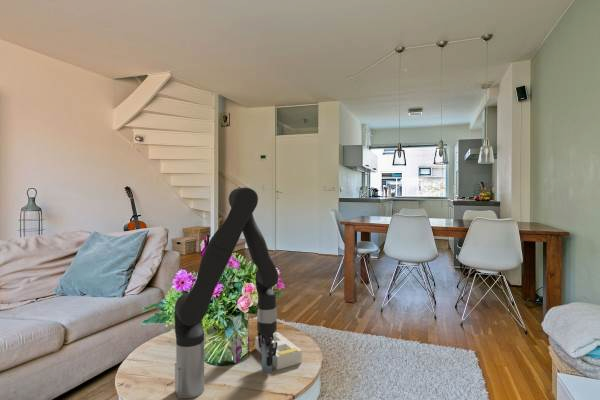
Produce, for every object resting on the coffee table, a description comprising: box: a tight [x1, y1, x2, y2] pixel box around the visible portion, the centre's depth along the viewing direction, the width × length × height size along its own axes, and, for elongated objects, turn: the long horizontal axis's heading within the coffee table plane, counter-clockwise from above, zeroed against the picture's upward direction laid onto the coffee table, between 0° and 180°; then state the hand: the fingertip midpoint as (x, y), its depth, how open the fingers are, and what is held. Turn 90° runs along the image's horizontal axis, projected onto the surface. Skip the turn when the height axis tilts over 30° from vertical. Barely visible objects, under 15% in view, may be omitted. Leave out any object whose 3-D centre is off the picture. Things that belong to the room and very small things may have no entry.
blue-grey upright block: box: [261, 344, 273, 373], centre depth 131 cm, size 4×4×10 cm
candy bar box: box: [232, 314, 250, 364], centre depth 142 cm, size 11×5×16 cm, turn 161°
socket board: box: [254, 331, 303, 371], centre depth 143 cm, size 11×22×5 cm, turn 30°
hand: (267, 362), depth 131 cm, fingers closed on blue-grey upright block, 4 cm apart
